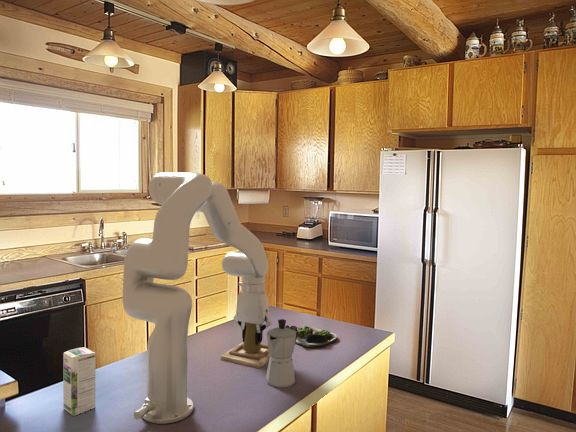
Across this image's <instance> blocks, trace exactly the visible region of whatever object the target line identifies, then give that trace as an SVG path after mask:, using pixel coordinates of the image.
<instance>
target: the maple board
mask: <svg viewBox="0 0 576 432" xmlns="http://www.w3.org/2000/svg"><path fill="white" fill-rule="evenodd" d="M243 344H244V342H243V341H242V342H241V343H239V344H238V345H236V346H234V347H233V348H231V349H229V350H228V351H226V352H225V353H223V354H222V355H220V360H221V361H225V362H231V363H235V364H239V365H243V366H248V367H253V368H257V369H260V368H261V367H263V366H264V365H265V364H267V363H269V358H270V357H271V356H270V355H269V351H268V343H267V344H266V343H262V342H261V350H259V351H256V352H248V351H245V350H243Z"/></svg>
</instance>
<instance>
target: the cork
mask: <svg viewBox="0 0 576 432" xmlns="http://www.w3.org/2000/svg"><path fill="white" fill-rule="evenodd" d="M245 324H246V331H245V339H244V344H243V350H245V351H248V352H256V351H259V350H261V343H262V342H261V343H260V342H259V344H258V345H256V341H255V333H256V332H257V328H256V324H251V323H245Z"/></svg>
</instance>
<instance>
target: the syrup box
mask: <svg viewBox="0 0 576 432" xmlns="http://www.w3.org/2000/svg"><path fill="white" fill-rule="evenodd" d="M62 356H63V358H62V359H63V364H62V365H63V367H62V368H63V370H62V371H63V378H62V379H63V380H62V381H63V389H62V391H63V394H62V395H63V399H62V400H63V404H62V405H63V407H62V408H63V409H64V410H65V411H66V412H68V413H69V414H70V415H71V416H73V417H75V416H78V415H80V413H81V414H83V413H86V412H88V411H90V409H91V410H92V409H95V408H96V365H97V364H96V352H95V351H92V350H91V349H90V348H87V347H76V348H73V349H69V350H67V351H64V352H63V355H62ZM85 411H86V412H85Z"/></svg>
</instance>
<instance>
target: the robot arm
mask: <svg viewBox="0 0 576 432" xmlns="http://www.w3.org/2000/svg"><path fill="white" fill-rule="evenodd" d="M148 193H149V196H150V198H151V200H153V201H154V202H155V203H157V204H158V205H161V206H160V207H159V209H158V210H157V212H156V214H155V217H154V222H153V232H152V238H144V237H143V238H139V239H136V240H135V241H132V243H131V244H130V245H129V247H128V249H127V251H126V253H125V256H124V259H123V260H124V261H123V276H122V277H123V278H122V282H123V283H122V305H123V310H124V311H125V313H126V314H127V316H129V317H130V318H133V319H135V320H139V321H144V322H149V323H152V324H154V328H153V330H152V332H151V333H150V335H149V337H148V340H147V345H146V346H147V397H146V398H145V399H144V403H143V404H142V405H141V408H139V409H137V410H136V411H134V413H133V418H134V419H135V420H136V421H139V420H140V419H141V418H143V419H144V420H145V421H146V422H149V423H152V424H158V425H159V424H160V425H161V424H171V423H176V422H179V421H182V420H184V419H186V418H187V417H189V416H191V414H192V413H193V411H194V402H193V400H192V399H191V398H189V397H188V353H189V351H188V341H189V340H188V339H189V338H188V334H189V326H190V325H189V324H190V320H191V314H192V309H193V299H192V296H191V294H190V293H189V292H188V290H185V289H184V288H182V287H180V286H178V285H172V284H166V283H159V282H155V279H158V280H159V279H160V280H163V281H164V280H166V281H177V280H179V279H181V278H183V277H184V276H185V274H186V272H187V270H188V269H187V268H188V263H189V261H188V260H189V247H190V246H189V245H190V244H189V243H190V228H191V222H192V220H193V218H194V216H195V214H196V213H197V212H201V213H203V215H204V217H205V220H206V222H207V225H208V226H209V229H210V231H211V234H212V235H213V237H214V238H215V239H217V240H218V241H220V242H221V243H224V244H225V245H228V246H230V247H232V248H234V249H236V250H237V251H236V250H233V251H230V252H228V253H226V255H224V257H223V258H222V261H221V267H222V270H223V271H224V273H226V274H227V275H230V276H234V277H241V281H239V282H238V286H239V287H240V288H241V289H240V290H239V291H238V295H237V301H236V310H235V315H234V316H233V320H234V321H235V322H236V323H237V324H238V325H239V327H240V330H241V332H242V333H241V337H242V342H244V339H245V331H246V324H245V323H251V324H256V328H257V332H256V333H255V341H256V345H258V344H259V342H260V343H262V341H263V332H264V331H265V329H267V328H268V327H270V326H272V325H273V322H272V320H271V318H270V315H269V314H270V313H269V299H268V294H267V291H266V275H267V273H268V271H269V262H268V257H267V254H266V251H265V247H264V245H263V244H262V242H261V240H259V238H258V237H257V236H256V235H255V234H254V233H252V231H250V230H249V229H248V228H247V227H246V226H244V224H242V223H241V222H240V219H239V216H238V214H237V212H236V208H235V207H234V204H233V201H232V199H231V196H230V194H229V190H228V189H227V187H226V186H225V185H224V184H223V183H220V182H217V181H212V179H211V178H210V177H209V176H208V175H206V174H203V173H198V172H187V171H186V172H185V171H183V172H176V171H174V172H171V171H170V172H168V171H165V172H164V171H163V172H159V173H155V174H154V176H152V177H151V179H150V180H149V182H148Z"/></svg>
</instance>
